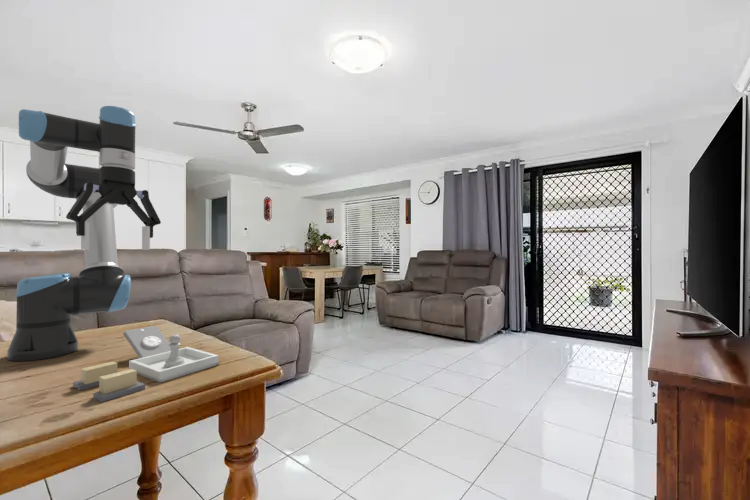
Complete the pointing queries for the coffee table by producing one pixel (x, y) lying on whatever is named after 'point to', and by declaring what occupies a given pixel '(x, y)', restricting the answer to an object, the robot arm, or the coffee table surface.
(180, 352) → the parts tray
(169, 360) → the chess piece
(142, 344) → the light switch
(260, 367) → the coffee table surface
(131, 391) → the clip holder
